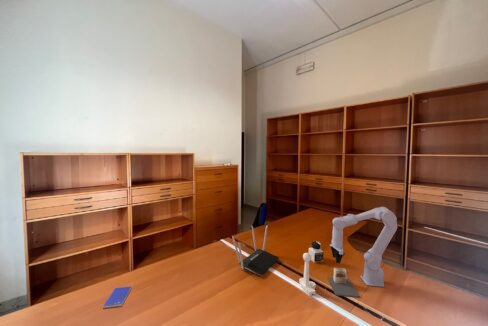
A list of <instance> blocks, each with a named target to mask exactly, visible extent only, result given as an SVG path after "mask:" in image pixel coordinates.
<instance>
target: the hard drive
mask: <svg viewBox="0 0 488 326" xmlns="http://www.w3.org/2000/svg"><path fill="white" fill-rule="evenodd" d="M131 289H132V286H123V287H114V289H113V290H112V292H111V293H110V294H109V296H108V298H107V300H106V301H105V302H104V303H103V306H102V309H106V308H113V307H114V308H115V307H121V306H123V304H124V302H125V301H126V298H127V297H128V295H129V293H130V291H131Z"/></svg>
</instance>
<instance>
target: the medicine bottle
mask: <svg viewBox="0 0 488 326" xmlns="http://www.w3.org/2000/svg"><path fill="white" fill-rule="evenodd" d="M308 253H309V254H310V255H311V260H310V261H312V262H313V263H315V264H316V263H322V262H324V255H325V254H324V253H325V252H324V250H322V243H321V242H319V241H312V242H311V247H309V248H308Z"/></svg>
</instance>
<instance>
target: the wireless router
mask: <svg viewBox="0 0 488 326" xmlns="http://www.w3.org/2000/svg"><path fill="white" fill-rule="evenodd" d="M251 232H252V238H253V245H254V252H252V253H250V254H249V255H247V256H246V257H245V258H244V259H243V253H242V247H241V243H240V242H238V241H237V242H238V243H237V244H238V246H237V244H236V240H235V237H234V236H233V235H231V237H232V242H233V246H234V248H235V252H236V256H237V259H238V265H240V267H241V270H244V269H246V271H249V272H251V273H254V274H255V275H258V276H262V275H263V274H264V273H266V272H267V271H268V270H269V269H270V268H271V267H272V266H273V265H274V264H275V263H277V262H278V261H279V259H280V258H279V257H278V256H276V255H275V254H273V253H270V252H268V251H267V250H265V249H266V243H267V234H268V225H266V226H265V231H264V238H263V244H262V245H263V246H262V249H261V248H258V249H257V244H256V243H257V242H256V237H255V230H254V226H253V225H251Z"/></svg>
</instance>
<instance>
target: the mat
mask: <svg viewBox="0 0 488 326" xmlns="http://www.w3.org/2000/svg"><path fill="white" fill-rule="evenodd" d="M327 280H328V283H329V284H330V287H331V289H332V291H333V293H334V295H335V296H338V297H339V296H340V297H347V298H348V297H349V298H361V295H360V293H358V291H357V289H356V288H355V285H354V284H353V283H352V282H351V280H350V279H349V278H346V284H345V283H335V282H334V280H333V277H327Z"/></svg>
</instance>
